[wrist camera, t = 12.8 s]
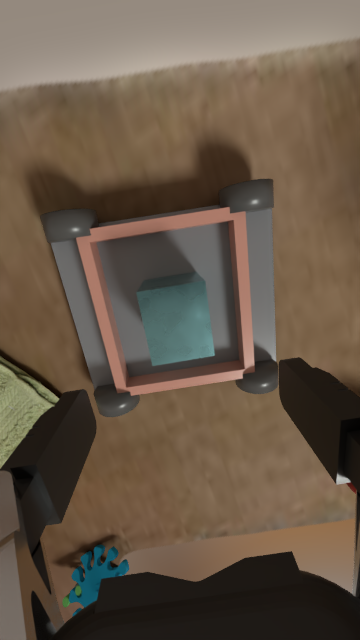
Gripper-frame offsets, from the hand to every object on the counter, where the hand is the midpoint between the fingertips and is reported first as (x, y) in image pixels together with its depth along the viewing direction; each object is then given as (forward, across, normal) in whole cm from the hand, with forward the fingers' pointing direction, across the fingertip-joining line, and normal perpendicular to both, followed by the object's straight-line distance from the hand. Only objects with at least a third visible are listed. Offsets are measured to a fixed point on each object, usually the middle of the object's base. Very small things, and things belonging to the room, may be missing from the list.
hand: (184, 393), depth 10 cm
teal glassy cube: (+15, 0, 0) cm, 15 cm away
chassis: (+16, 0, 0) cm, 16 cm away
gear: (+16, +17, +38) cm, 45 cm away
